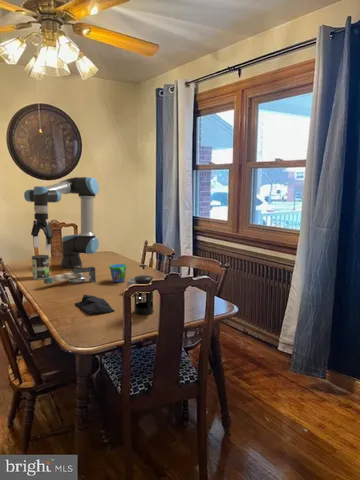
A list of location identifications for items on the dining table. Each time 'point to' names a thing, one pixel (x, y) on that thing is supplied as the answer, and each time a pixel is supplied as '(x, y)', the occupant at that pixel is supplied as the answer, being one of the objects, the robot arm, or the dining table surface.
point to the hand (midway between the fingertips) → (42, 248)
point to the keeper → (89, 269)
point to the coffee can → (40, 266)
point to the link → (62, 277)
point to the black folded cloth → (94, 305)
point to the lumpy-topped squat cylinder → (131, 282)
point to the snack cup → (118, 272)
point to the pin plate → (78, 279)
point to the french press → (146, 301)
